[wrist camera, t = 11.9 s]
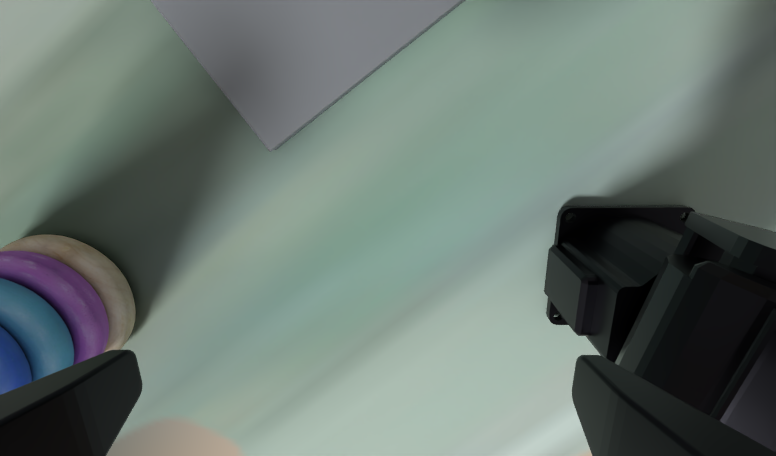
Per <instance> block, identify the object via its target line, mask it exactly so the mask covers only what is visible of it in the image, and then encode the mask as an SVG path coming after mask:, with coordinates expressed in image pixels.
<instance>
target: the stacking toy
mask: <svg viewBox="0 0 776 456" xmlns="http://www.w3.org/2000/svg"><path fill="white" fill-rule="evenodd" d="M135 315H136V311H135V302H134V298H133V294H132V291H131V288H130V286H129V284H128V282H127V280H126V278H125V277H124V275H123V274H122V272H121V271H120V270H119V269H118V267H117V266H116V265H115V264H114V263H113V262H112V261H111V260H109V259H108V258H107V257H106V256H105V255H103V254H102V253H101V252H99V251H98V250H96V249H94V248H93V247H91V246H89V245H87V244H85V243H83V242H80V241H78V240H75V239H72V238H69V237H65V236H59V235H34V236H29V237H25V238H21V239H19V240H16V241H14V242H12V243H10V244H8V245H6V246H5V247H3V248H2V249H1V250H0V395H1V394H4V393H6V392H9V391H11V390H13V389H16V388H18V387H21V386H23V385H26V384H28V383H31V382H33V381H35V380H38V379H40V378H43V377H45V376H48V375H50V374H53V373H55V372H57V371H60V370H62V369H65V368H67V367H70V366H72V365H75V364H77V363H79V362H82V361H84V360H87V359H89V358H92V357H94V356H97V355H99V354H102V353H104V352H106V351H109V350H120V349H121V348H122V347H123V346H124V344H125V343H126V342H127V340H128V338H129V337H130V335H131V333H132V330H133V327H134V323H135Z"/></svg>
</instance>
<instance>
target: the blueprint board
mask: <svg viewBox="0 0 776 456" xmlns="http://www.w3.org/2000/svg"><path fill="white" fill-rule="evenodd" d="M464 1H465V0H151V2H152V3H153V4H154V6H155V7H156V8H157V9H158V11H159V12H160V13H161V14H162V16H163V17H164V18H165V19H166V21H167V22H168V23H169V25H170V26H171V27H172V28H173V30H174V31H175V32H176V33H177V35H178V36H179V37H180V38H181V40H182V41H183V42H184V44H185V45H186V46H187V47H188V49H189V50H190V51H191V52H192V54H193V55H194V56H195V57H196V59H197V60H198V61H199V63H200V64H201V65H202V66H203V68H204V69H205V70H206V71H207V73H208V74H209V75H210V76H211V78H212V79H213V80H214V81H215V83H216V84H217V85H218V87H219V88H220V89H221V90H222V92H223V93H224V94H225V95H226V97H227V98H228V99H229V100H230V102H231V103H232V104H233V106H234V107H235V108H236V109H237V111H238V112H239V113H240V114H241V116H242V117H243V118H244V119H245V121H246V122H247V123H248V125H249V126H250V127H251V128H252V130H253V131H254V132H255V133H256V135H257V136H258V137H259V138H260V140H261V141H262V142H263V144H264V145H265V146H266V147H267V149H268V150H269V151H273V150H276V149H277V148H279V147H280V146H281V145H282V144H284V143H285V142H286V141H287V140H289V139H290V138H291V137H293V136H294V135H295V134H296V133H298V132H299V131H300V130H301V129H303V128H304V127H305V126H306V125H308V124H309V123H310V122H312V121H313V120H314V119H315V118H317V117H318V116H319V115H320V114H322V113H323V112H324V111H326V110H327V109H328V108H329V107H331V106H332V105H333V104H334V103H336V102H337V101H338V100H339V99H341V98H342V97H343V96H345V95H346V94H347V93H348V92H350V91H351V90H352V89H353V88H355V87H356V86H357V85H359V84H360V83H361V82H362V81H364V80H365V79H366V78H367V77H369V76H370V75H371V74H372V73H374V72H375V71H376V70H378V69H379V68H380V67H381V66H383V65H384V64H385V63H386V62H388V61H389V60H390V59H391V58H393V57H394V56H395V55H397V54H398V53H399V52H400V51H402V50H403V49H404V48H405V47H407V46H408V45H409V44H411V43H412V42H413V41H414V40H416V39H417V38H418V37H419V36H421V35H422V34H423V33H424V32H426V31H427V30H428V29H430V28H431V27H432V26H433V25H435V24H436V23H437V22H438V21H440V20H441V19H442V18H444V17H445V16H446V15H447V14H449V13H450V12H451V11H452V10H454V9H455V8H456V7H457V6H459V5H460V4H461V3H463V2H464Z"/></svg>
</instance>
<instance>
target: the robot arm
mask: <svg viewBox="0 0 776 456" xmlns="http://www.w3.org/2000/svg"><path fill="white" fill-rule="evenodd" d="M568 213H573V216H572V218H571V219H570V220H566V215H567V214H568ZM683 213H685V217H684V218H683V219H682V220H680V216H681V215H682V214H683ZM544 292H545V294H546V295H547V296H548V303H547V312H546V314H547V317H548V319H549V320H550V322H551V323H553V324H556V325H569V326H570V327H571V328H572V330H573V331H574V332H575V333H576V334H577V335H578V336H586V337H587V338H588V339H589V341H590V342H591V343H592V345H593V346H594V347H595V348H596V350H597V351H598V352H599V353H600V355H601V356H599V355H581V356H579V357H578V359H577V361H576V366H575V373H574V380H573V387H572V398H573V403H574V406H575V408H576V411H577V414H578V417H579V420H580V422H581V425H582V428H583V431H584V433H585V436H586V439H587V442H588V445H589V447H590V450H591V453H592V456H776V232H774V231H770V230H766V229H762V228H758V227H753V226H749V225H745V224H741V223H737V222H733V221H729V220H725V219H721V218H717V217H713V216H709V215H705V214H701V213H696V212H695V210H693V209H692V208H690V207H687V206H683V205H664V206H566V207H564V208H562V209H561V210H560V211H559V213H558V216H557V225H556V233H555V242H554V245H553V246H552V247H551V248H550V249H549V253H548V262H547V271H546V280H545V289H544ZM558 312H560V315H559V316H558V317H553V316H554V314H555V313H558ZM141 391H142V379H141V375H140V371H139V367H138V362H137V358H136V355H135V353H134V352H133V351H131V350H109V351H106V352H104V353H102V354H99V355H97V356H94V357H92V358H89V359H87V360H84V361H82V362H79V363H77V364H75V365H72V366H70V367H67V368H65V369H62V370H60V371H57V372H55V373H53V374H50V375H48V376H45V377H43V378H40V379H38V380H35V381H33V382H31V383H28V384H26V385H23V386H21V387H18V388H16V389H13V390H11V391H9V392H6V393H4V394H1V395H0V456H106V455H107V453H108V451H109V449H110V448H111V446H112V444H113V442H114V441H115V439H116V437H117V435H118V434H119V432H120V430H121V428H122V427H123V425H124V423H125V421H126V420H127V418H128V416H129V414H130V413H131V411H132V409H133V407H134V405H135V404H136V402H137V400H138V398H139V397H140V394H141Z"/></svg>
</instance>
